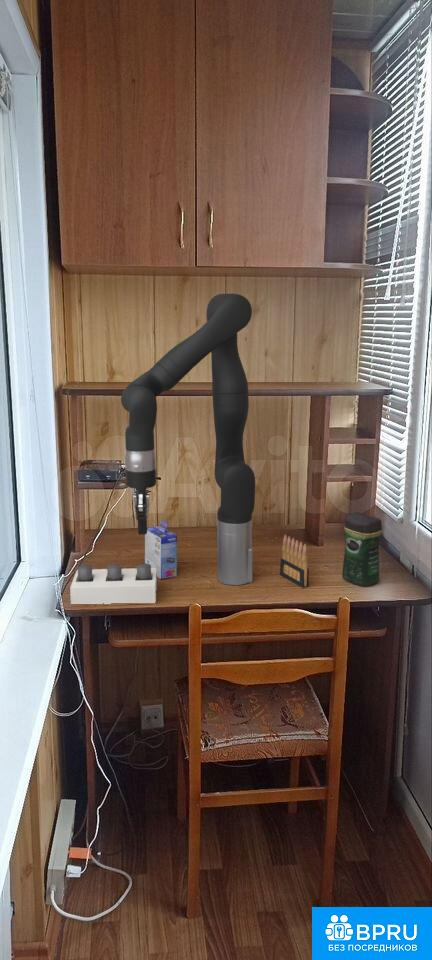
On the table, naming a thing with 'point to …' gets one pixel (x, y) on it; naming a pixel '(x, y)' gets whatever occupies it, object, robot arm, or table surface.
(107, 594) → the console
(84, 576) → the knob
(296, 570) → the ammunition clip
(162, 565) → the ink cartridge box
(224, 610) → the table surface
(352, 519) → the coffee jar
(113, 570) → the knob middle
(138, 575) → the knob
